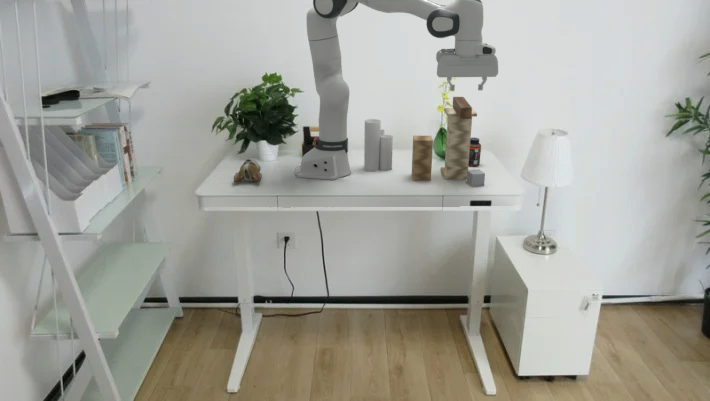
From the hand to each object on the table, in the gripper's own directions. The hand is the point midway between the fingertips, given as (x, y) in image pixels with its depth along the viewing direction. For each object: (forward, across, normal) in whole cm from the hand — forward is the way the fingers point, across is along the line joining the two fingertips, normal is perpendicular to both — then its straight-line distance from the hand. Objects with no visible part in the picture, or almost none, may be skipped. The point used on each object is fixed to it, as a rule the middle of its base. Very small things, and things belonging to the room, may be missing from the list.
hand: (466, 90), depth 187 cm
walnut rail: (+12, 0, +17) cm, 21 cm away
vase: (+37, -32, +25) cm, 55 cm away
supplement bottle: (+38, +7, +34) cm, 52 cm away
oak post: (+37, -15, +16) cm, 43 cm away
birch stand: (+38, -1, +20) cm, 43 cm away
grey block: (+38, +6, +10) cm, 40 cm away
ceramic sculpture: (+36, -81, +5) cm, 89 cm away
